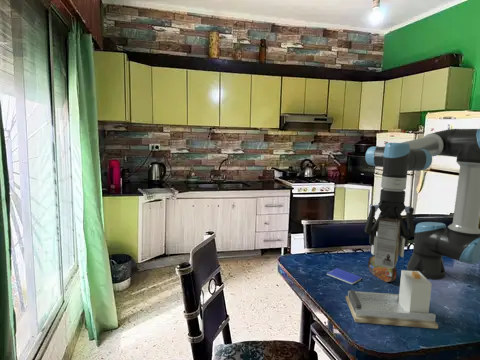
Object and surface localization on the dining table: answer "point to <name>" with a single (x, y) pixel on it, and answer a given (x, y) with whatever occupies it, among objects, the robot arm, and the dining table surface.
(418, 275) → the breaker module
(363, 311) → the white base stand
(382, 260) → the coffee box
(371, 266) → the tin
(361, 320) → the board
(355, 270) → the dining table surface
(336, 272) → the hard drive
